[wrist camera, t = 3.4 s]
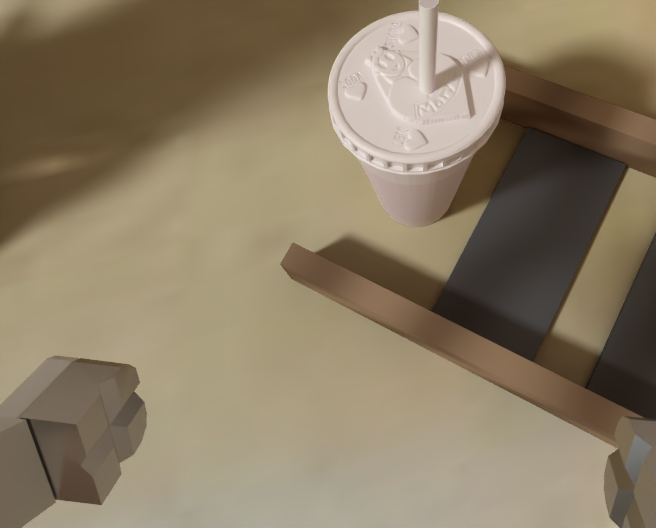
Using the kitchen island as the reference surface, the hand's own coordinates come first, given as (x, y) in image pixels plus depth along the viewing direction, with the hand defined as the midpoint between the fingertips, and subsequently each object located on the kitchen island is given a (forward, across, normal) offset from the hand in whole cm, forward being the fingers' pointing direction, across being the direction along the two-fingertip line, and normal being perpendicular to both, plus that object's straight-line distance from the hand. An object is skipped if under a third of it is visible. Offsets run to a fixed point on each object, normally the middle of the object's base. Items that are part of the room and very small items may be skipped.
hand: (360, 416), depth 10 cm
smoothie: (+21, 0, +4) cm, 21 cm away
